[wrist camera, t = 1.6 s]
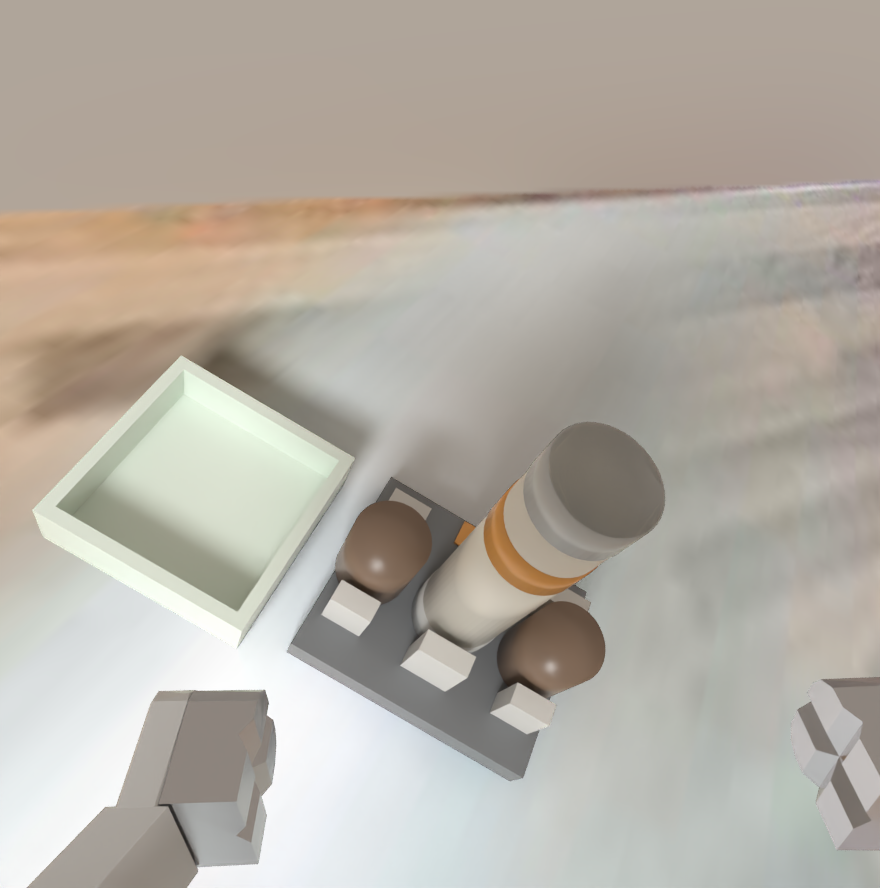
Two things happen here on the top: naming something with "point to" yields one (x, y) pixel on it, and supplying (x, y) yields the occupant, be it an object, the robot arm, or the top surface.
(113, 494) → the tray
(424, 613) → the marked fuse
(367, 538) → the cylinder
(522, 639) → the cylinder
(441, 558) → the panel
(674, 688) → the top surface
